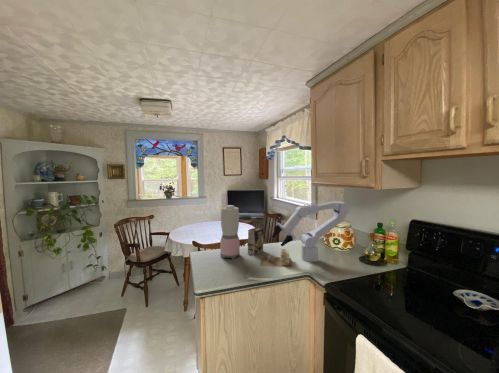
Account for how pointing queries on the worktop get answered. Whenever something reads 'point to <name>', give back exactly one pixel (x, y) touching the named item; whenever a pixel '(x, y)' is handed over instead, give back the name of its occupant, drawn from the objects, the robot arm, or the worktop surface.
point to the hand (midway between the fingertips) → (277, 241)
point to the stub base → (273, 261)
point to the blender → (229, 232)
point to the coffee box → (255, 241)
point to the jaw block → (284, 257)
